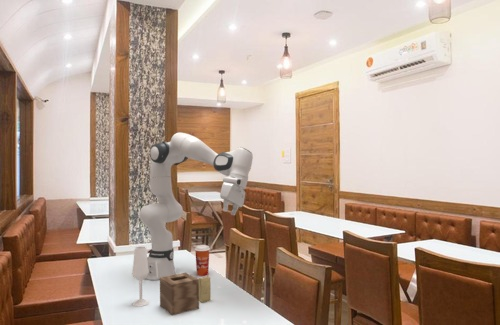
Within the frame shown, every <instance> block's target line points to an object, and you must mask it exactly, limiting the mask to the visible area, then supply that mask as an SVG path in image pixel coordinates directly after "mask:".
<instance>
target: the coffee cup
mask: <svg viewBox="0 0 500 325" xmlns="http://www.w3.org/2000/svg"><path fill="white" fill-rule="evenodd" d="M210 250H211V248H210V246H209V245H205V244H202V245H196V246H195V248H194V251H195V263H196V264H195V265H196V275H197V276H199V277H206V276H208V275H209V264H210V263H209V262H210Z"/></svg>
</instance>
